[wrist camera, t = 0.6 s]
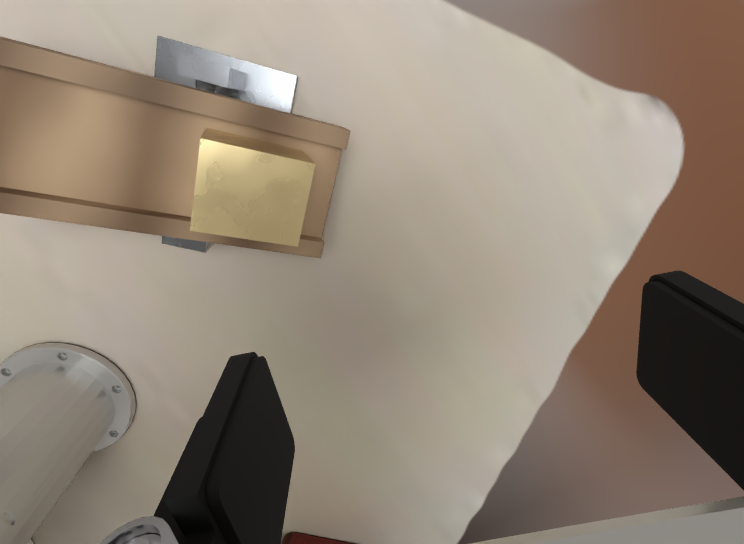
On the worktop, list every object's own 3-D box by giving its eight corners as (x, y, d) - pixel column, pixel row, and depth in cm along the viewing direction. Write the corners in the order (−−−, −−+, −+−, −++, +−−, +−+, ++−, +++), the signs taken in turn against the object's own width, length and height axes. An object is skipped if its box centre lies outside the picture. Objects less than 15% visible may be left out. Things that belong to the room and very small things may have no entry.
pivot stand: (345, 90, 33) (348, 87, 27) (309, 253, 38) (303, 283, 31) (62, 8, 30) (-12, -18, 23) (61, 199, 34) (0, 220, 28)
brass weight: (302, 150, 28) (315, 164, 23) (288, 221, 29) (297, 246, 25) (206, 127, 26) (200, 138, 21) (196, 206, 27) (189, 230, 23)
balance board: (341, 126, 29) (356, 133, 26) (314, 245, 32) (324, 266, 29) (-70, 18, 21) (-129, 6, 18) (-54, 190, 24) (-102, 209, 21)
